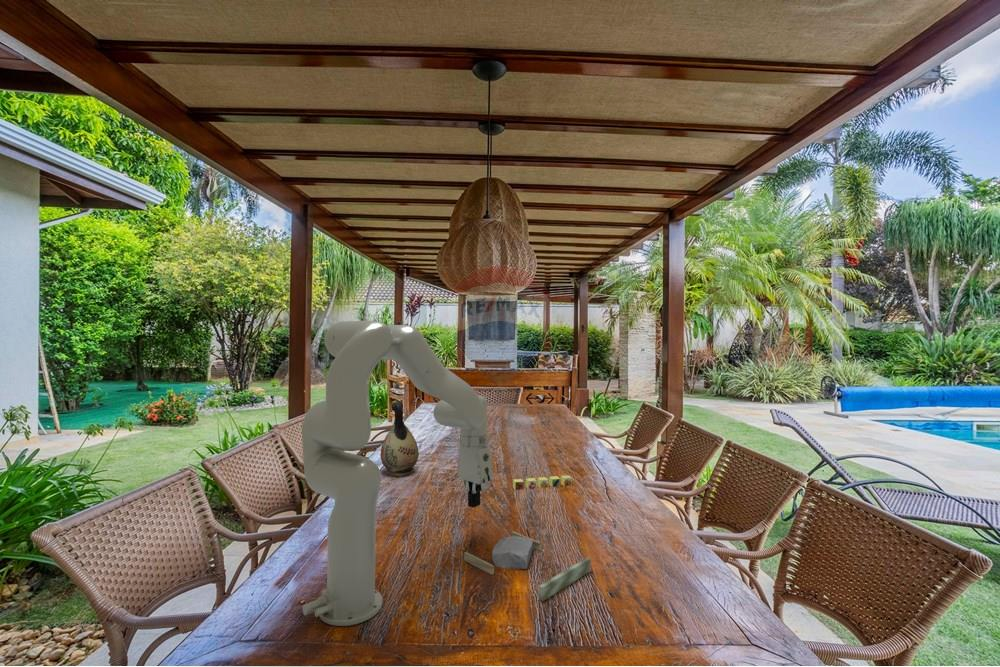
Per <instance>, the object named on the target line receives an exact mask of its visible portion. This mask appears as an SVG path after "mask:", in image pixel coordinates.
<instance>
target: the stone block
mask: <svg viewBox="0 0 1000 667" xmlns="http://www.w3.org/2000/svg"><path fill="white" fill-rule="evenodd" d="M491 551H492V552H491V553H492V554H491V560H492V565H493V564H494V567H497V568H502V569H515V570H527V569H528V567H529V564H530V561H531V557H532V554H533V551H534V548H533V538H531V539H527V538H522V537H517V536H512V535H511V536H508V537H507V536H506V537H502V538H500V539H499V540H498V542H496V544H495V545H494V546H493V549H492V550H491Z"/></svg>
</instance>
